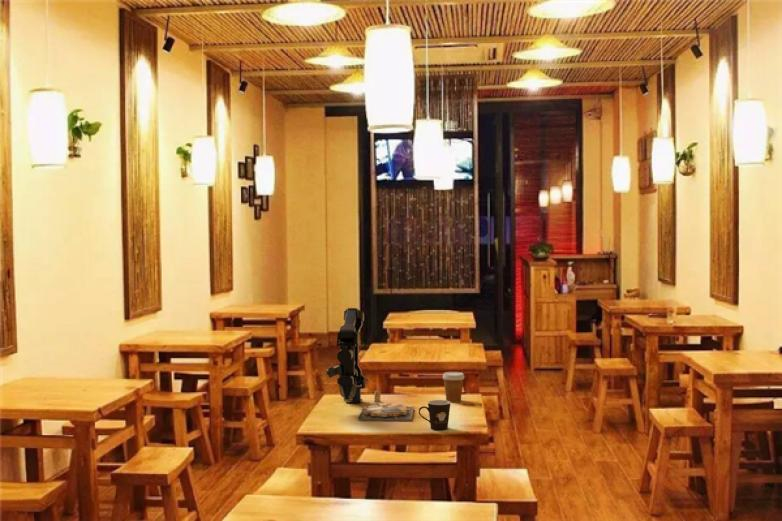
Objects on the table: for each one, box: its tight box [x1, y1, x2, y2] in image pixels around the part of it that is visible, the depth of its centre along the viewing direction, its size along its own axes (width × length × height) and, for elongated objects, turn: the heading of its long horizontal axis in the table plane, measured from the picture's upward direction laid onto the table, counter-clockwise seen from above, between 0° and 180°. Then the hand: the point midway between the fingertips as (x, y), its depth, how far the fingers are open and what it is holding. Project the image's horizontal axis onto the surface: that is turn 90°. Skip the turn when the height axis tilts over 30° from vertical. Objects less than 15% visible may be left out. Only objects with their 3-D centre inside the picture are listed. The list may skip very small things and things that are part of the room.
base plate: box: [357, 405, 415, 422], centre depth 345 cm, size 21×21×1 cm
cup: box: [338, 382, 357, 403], centre depth 346 cm, size 8×7×8 cm
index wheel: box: [364, 390, 410, 417], centre depth 345 cm, size 20×19×6 cm
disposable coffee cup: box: [442, 371, 465, 403], centre depth 369 cm, size 10×10×12 cm
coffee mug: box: [418, 399, 452, 432], centre depth 322 cm, size 12×9×10 cm
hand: (347, 397), depth 346 cm, fingers closed on cup, 6 cm apart
